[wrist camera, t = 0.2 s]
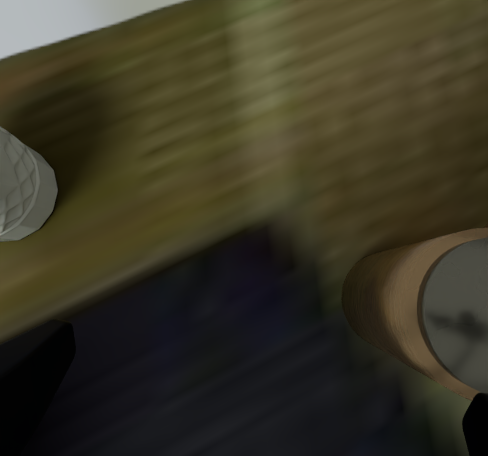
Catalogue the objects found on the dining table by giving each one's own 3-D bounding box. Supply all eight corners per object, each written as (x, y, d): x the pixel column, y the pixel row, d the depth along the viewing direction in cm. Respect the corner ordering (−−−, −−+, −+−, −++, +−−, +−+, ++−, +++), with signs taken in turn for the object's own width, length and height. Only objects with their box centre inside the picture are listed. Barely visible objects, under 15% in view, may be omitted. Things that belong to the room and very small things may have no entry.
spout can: (421, 365, 21) (585, 451, 10) (327, 325, 22) (390, 368, 11) (461, 244, 22) (649, 207, 11) (370, 209, 23) (466, 144, 12)
